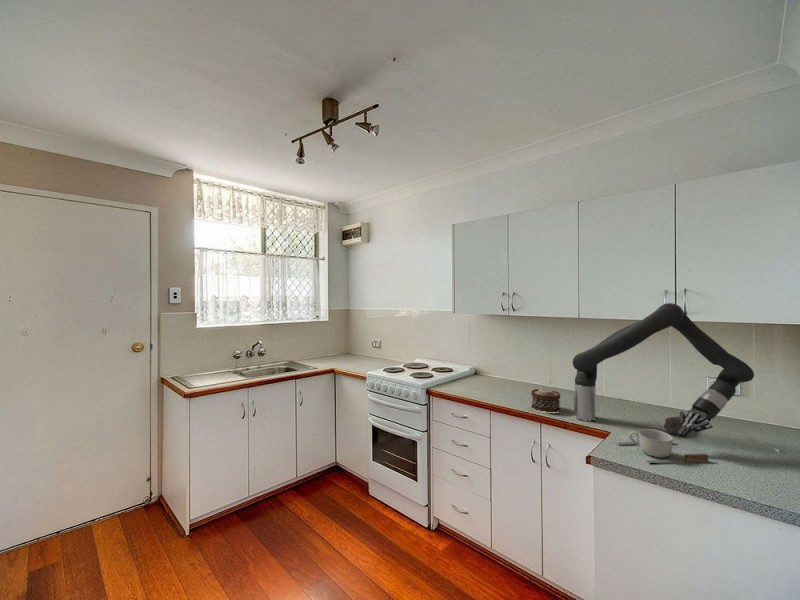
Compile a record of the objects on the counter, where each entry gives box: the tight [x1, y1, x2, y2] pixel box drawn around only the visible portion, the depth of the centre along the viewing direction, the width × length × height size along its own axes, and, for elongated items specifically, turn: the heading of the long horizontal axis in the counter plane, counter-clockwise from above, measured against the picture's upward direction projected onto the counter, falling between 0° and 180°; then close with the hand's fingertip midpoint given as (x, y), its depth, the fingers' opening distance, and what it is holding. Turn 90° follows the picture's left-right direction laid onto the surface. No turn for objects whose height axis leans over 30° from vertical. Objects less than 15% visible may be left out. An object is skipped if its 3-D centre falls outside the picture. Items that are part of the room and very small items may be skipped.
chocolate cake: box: [530, 388, 561, 412], centre depth 190 cm, size 15×11×15 cm
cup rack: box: [684, 453, 709, 464], centre depth 138 cm, size 17×8×2 cm, turn 4°
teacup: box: [628, 428, 674, 459], centre depth 137 cm, size 14×11×8 cm
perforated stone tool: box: [663, 416, 682, 435], centre depth 158 cm, size 15×5×7 cm, turn 118°
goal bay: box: [616, 441, 676, 465], centre depth 137 cm, size 18×10×1 cm, turn 4°
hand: (680, 435), depth 138 cm, fingers closed
